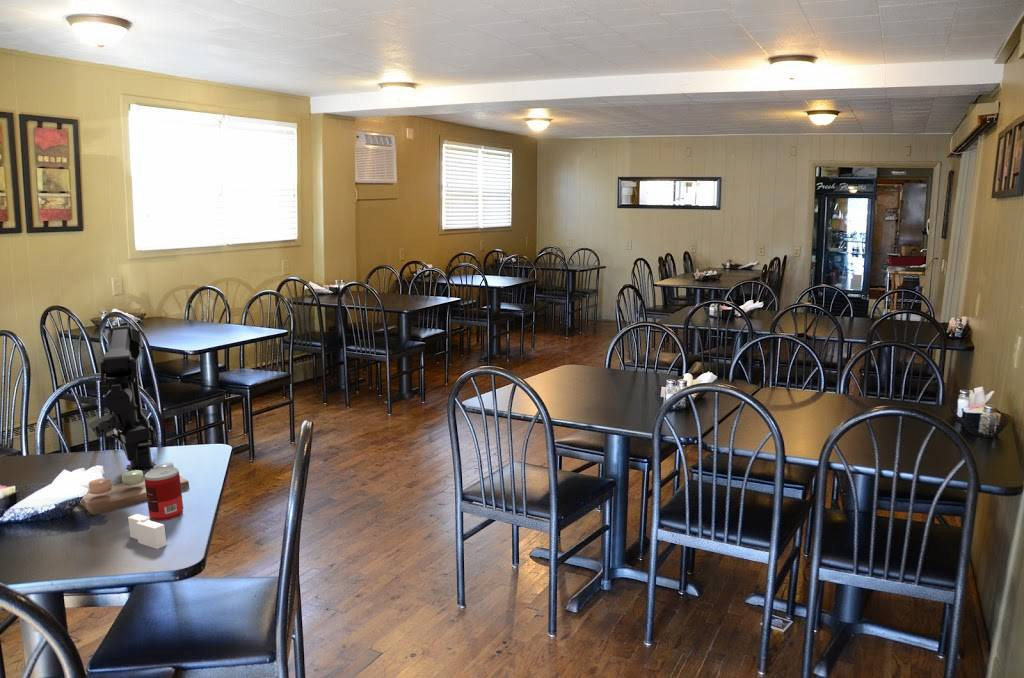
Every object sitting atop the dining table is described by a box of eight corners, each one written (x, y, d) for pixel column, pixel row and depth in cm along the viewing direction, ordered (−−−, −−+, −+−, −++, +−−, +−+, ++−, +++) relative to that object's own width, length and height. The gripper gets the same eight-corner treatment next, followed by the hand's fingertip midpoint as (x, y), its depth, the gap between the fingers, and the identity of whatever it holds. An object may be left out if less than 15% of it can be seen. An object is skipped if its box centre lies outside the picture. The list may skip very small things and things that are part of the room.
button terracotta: (87, 492, 207) (86, 482, 207) (108, 486, 211) (106, 476, 210) (93, 497, 204) (91, 486, 203) (114, 491, 207) (112, 481, 207)
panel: (78, 502, 210) (77, 495, 209) (172, 477, 225) (171, 470, 225) (92, 514, 201) (91, 507, 201) (189, 488, 217) (188, 481, 216)
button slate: (151, 475, 218) (150, 465, 218) (170, 470, 221) (169, 461, 221) (158, 480, 214) (157, 470, 214) (177, 475, 218) (176, 465, 217)
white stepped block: (175, 550, 180) (172, 526, 179) (119, 560, 176) (115, 535, 175) (177, 524, 194) (174, 502, 193) (125, 533, 190) (122, 510, 189)
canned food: (189, 508, 203) (184, 466, 201) (173, 521, 195) (168, 478, 193) (160, 508, 204) (155, 466, 202) (143, 521, 196) (137, 478, 194)
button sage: (120, 483, 213) (119, 473, 212) (140, 478, 216) (138, 468, 216) (126, 488, 209) (125, 478, 209) (146, 483, 212) (145, 473, 212)
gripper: (78, 403, 210) (86, 460, 213) (100, 416, 196) (109, 477, 199) (123, 394, 217) (130, 449, 220) (147, 406, 204) (155, 465, 207)
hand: (130, 460), depth 212 cm, fingers closed
